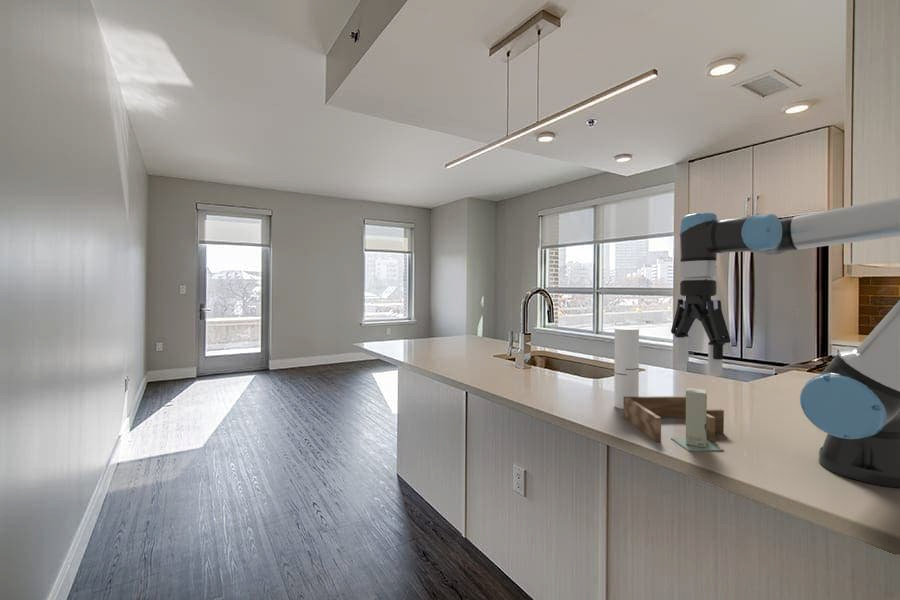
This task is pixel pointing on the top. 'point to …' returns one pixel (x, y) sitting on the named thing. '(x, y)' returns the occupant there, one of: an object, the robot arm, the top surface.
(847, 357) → the robot arm
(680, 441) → the pad
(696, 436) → the box
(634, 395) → the cylindrical container
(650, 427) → the wooden u-shaped enclosure
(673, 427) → the top surface
